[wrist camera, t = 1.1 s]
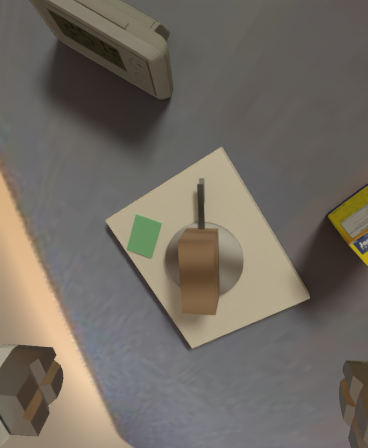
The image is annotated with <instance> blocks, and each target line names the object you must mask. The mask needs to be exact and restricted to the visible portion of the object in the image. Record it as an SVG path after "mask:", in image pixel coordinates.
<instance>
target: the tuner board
mask: <svg viewBox="0 0 368 448" xmlns="http://www.w3.org/2000/svg"><path fill="white" fill-rule="evenodd" d="M197 184H203V185H204V214H205V222H209V223H214V224H217V225H220V226H222V227H224V228H225V229H227V230H228V231H229V232H231V233H232V234H233V235H234V236H235V238H236V239H237V240H238V242H239V244H240V246H241V248H242V251H243V258H244V263H243V271H242V274H241V277H240V279H239V280H238V282H237V283H236V285H235V286H234V287H233V288H232V289H230V290H229V291H228V292H226V293H224V294H221V295H220V297H219V301H218V306H217V311H216V315H201V314H185V313H182V308H181V291H180V287H179V286H178V285H177V284H176V283H175V282H174V281H173V280H172V278H171V277H170V275H169V273H168V270H167V267H166V262H165V255H166V249H167V246H168V244H169V242H170V241H171V239H172V237H173V236H174V235H175V234H176V233H177V232H178V231H179V230H180V229H181V228H183V227H185V226H187V225H189V224H192V223H197V222H199V220H198V195H197ZM105 221H106V222H107V224H108V225H109V227H110V228H111V230H112V231H113V233H114V234H115V236H116V237H117V239H118V240H119V242H120V243H121V245H122V246H123V247H124V249H125V250H126V252H127V253H128V255H129V256H130V258H131V259H132V261H133V262H134V264H135V265H136V267H137V268H138V270H139V271H140V273H141V274H142V275H143V277H144V278H145V280H146V281H147V283H148V284H149V286H150V287H151V289H152V290H153V292H154V293H155V295H156V296H157V298H158V299H159V300H160V302H161V303H162V305H163V306H164V308H165V309H166V311H167V312H168V314H169V315H170V317H171V318H172V320H173V321H174V323H175V324H176V325H177V327H178V328H179V330H180V331H181V333H182V334H183V336H184V337H185V339H186V340H187V342H188V343H189V345H190V346H191V348H195V347H197V346H199V345H202V344H204V343H206V342H209V341H211V340H213V339H216V338H218V337H220V336H223V335H225V334H227V333H230V332H232V331H235V330H237V329H239V328H242V327H244V326H246V325H249V324H251V323H253V322H256V321H258V320H260V319H263V318H265V317H267V316H270V315H272V314H275V313H277V312H279V311H282V310H284V309H286V308H289V307H291V306H293V305H296V304H298V303H300V302H303V301H305V300H307V299H310V296H309V292H308V290H307V288H306V287H305V285H304V283H303V281H302V280H301V278H300V276H299V275H298V273H297V271H296V270H295V268H294V266H293V265H292V263H291V261H290V260H289V258H288V256H287V255H286V253H285V251H284V250H283V248H282V246H281V245H280V243H279V241H278V240H277V238H276V236H275V235H274V233H273V231H272V230H271V228H270V226H269V225H268V223H267V221H266V220H265V218H264V216H263V214H262V213H261V211H260V209H259V208H258V206H257V204H256V203H255V201H254V199H253V198H252V196H251V194H250V193H249V191H248V189H247V188H246V186H245V184H244V183H243V181H242V179H241V178H240V176H239V174H238V173H237V171H236V169H235V168H234V166H233V164H232V163H231V161H230V159H229V158H228V156H227V154H226V152H225V151H224V149H223V147H220V148H219V149H217V150H215V151H214V152H212V153H211V154H209V155H207V156H206V157H204V158H203V159H201V160H200V161H198V162H196V163H195V164H193V165H192V166H190V167H188V168H187V169H185V170H184V171H182V172H181V173H179V174H177V175H176V176H174V177H173V178H171V179H169V180H168V181H166V182H165V183H163V184H162V185H160V186H158V187H157V188H155V189H154V190H152V191H150V192H149V193H147V194H146V195H144V196H143V197H141V198H139V199H138V200H136V201H135V202H133V203H131V204H130V205H128V206H127V207H125V208H124V209H122V210H120V211H119V212H117V213H116V214H114V215H112V216H111V217H109V218H108V219H107V220H105Z"/></svg>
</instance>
